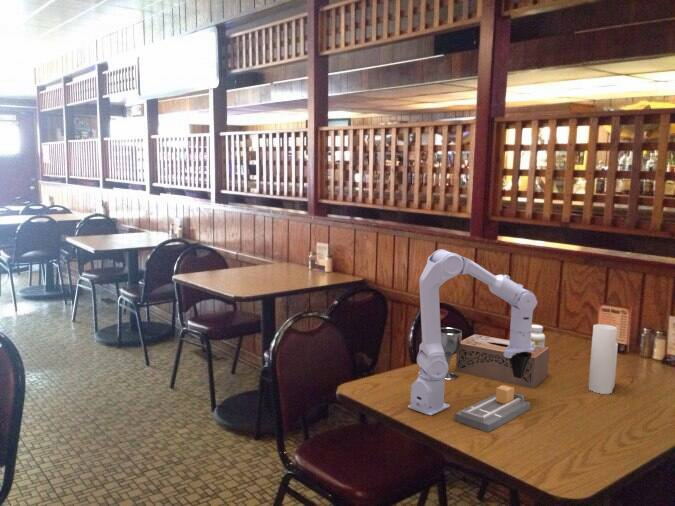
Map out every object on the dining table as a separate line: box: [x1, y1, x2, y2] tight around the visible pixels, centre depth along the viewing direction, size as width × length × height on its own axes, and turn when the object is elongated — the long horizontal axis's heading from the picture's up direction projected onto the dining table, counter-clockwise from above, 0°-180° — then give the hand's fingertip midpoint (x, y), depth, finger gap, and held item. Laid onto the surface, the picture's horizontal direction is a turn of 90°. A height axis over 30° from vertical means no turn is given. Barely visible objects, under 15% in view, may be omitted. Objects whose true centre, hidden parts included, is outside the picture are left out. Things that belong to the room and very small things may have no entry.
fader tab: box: [495, 384, 515, 404], centre depth 162 cm, size 4×3×4 cm
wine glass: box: [440, 327, 463, 380], centre depth 189 cm, size 8×8×15 cm
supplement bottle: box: [531, 324, 546, 347], centre depth 206 cm, size 7×7×13 cm
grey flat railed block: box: [454, 392, 531, 433], centre depth 158 cm, size 23×10×3 cm, turn 135°
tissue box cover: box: [455, 333, 550, 389], centre depth 192 cm, size 26×14×10 cm, turn 54°
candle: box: [588, 323, 619, 395], centre depth 180 cm, size 11×7×20 cm, turn 149°
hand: (518, 377), depth 167 cm, fingers closed
